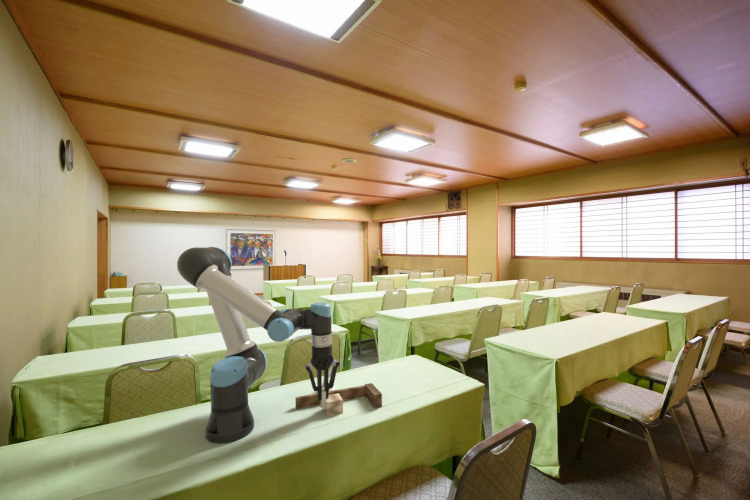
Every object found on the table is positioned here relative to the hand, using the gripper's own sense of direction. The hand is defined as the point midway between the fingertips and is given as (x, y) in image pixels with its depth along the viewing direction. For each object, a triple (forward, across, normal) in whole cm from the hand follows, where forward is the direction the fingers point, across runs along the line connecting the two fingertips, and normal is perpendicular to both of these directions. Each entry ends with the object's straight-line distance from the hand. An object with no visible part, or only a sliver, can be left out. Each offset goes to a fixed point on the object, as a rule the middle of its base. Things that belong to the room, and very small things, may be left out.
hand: (323, 407), depth 127 cm
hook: (+2, +6, +20) cm, 21 cm away
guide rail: (+2, +7, +2) cm, 8 cm away
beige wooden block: (+2, +4, 0) cm, 4 cm away
